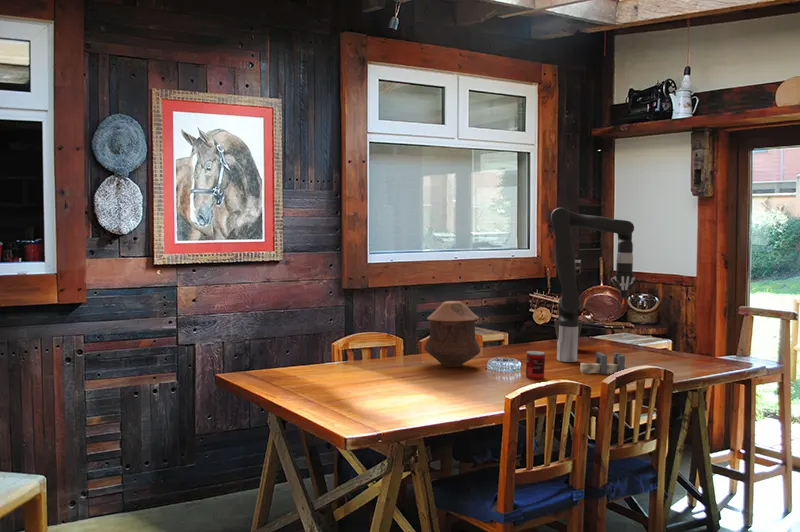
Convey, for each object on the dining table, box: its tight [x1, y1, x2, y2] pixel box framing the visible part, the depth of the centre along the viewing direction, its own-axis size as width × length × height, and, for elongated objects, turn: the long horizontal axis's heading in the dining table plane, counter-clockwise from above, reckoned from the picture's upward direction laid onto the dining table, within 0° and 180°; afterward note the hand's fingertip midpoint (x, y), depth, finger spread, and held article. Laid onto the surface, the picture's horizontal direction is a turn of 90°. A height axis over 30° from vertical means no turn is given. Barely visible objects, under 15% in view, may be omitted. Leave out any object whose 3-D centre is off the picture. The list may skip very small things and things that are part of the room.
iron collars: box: [595, 351, 626, 375], centre depth 351 cm, size 10×9×8 cm
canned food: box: [525, 350, 546, 380], centre depth 335 cm, size 8×8×11 cm
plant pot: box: [553, 318, 583, 341], centre depth 417 cm, size 15×15×16 cm
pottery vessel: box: [423, 300, 481, 368], centre depth 356 cm, size 26×26×30 cm
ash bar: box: [579, 362, 628, 375], centre depth 350 cm, size 20×4×4 cm, turn 90°
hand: (623, 297), depth 374 cm, fingers closed
